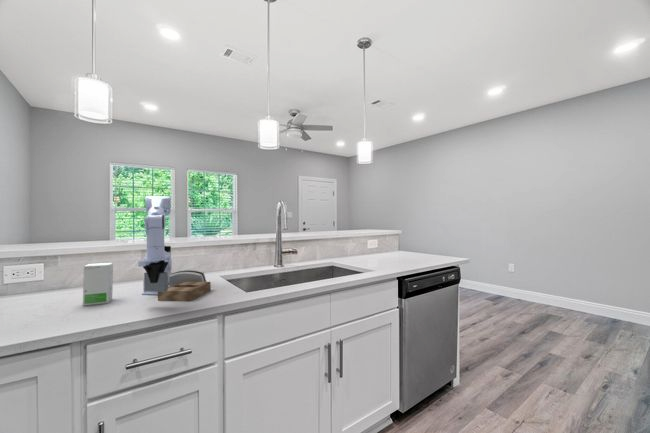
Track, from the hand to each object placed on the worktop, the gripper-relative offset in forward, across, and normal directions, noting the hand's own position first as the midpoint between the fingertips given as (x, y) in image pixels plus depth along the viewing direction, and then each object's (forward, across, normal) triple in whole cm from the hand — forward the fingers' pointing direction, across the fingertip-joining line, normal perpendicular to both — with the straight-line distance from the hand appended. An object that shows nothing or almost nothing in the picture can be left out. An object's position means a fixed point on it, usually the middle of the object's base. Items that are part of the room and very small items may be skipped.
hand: (156, 281), depth 103 cm
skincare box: (+10, +4, +28) cm, 30 cm away
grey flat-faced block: (+3, 0, 0) cm, 3 cm away
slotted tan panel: (+10, +16, -2) cm, 18 cm away
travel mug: (+10, +33, +21) cm, 40 cm away
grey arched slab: (+10, +28, +5) cm, 30 cm away
